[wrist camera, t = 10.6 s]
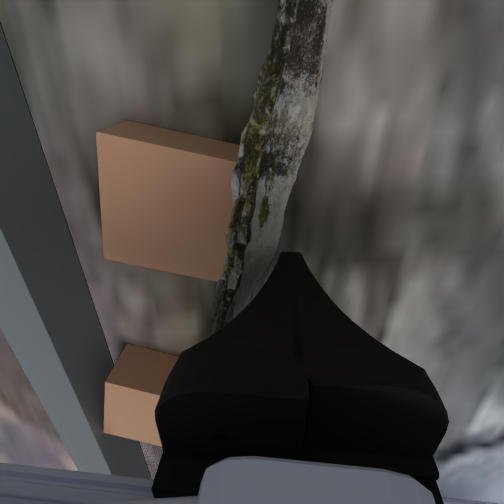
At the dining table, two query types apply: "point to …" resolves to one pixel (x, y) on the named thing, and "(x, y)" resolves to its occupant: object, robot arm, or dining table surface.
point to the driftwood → (272, 151)
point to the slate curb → (51, 296)
